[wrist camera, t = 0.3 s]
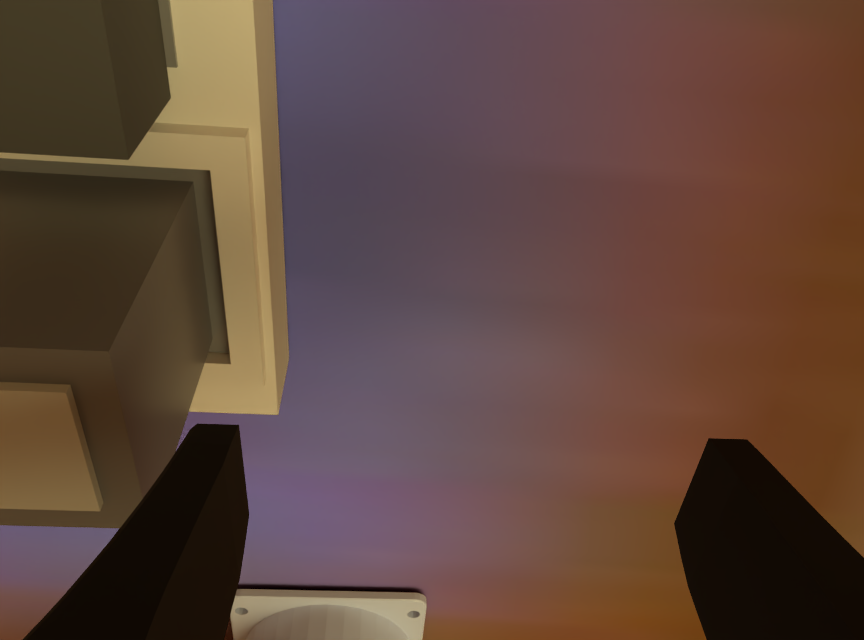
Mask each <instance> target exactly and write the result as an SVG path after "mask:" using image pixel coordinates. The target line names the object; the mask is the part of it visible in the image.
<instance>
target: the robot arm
mask: <svg viewBox="0 0 864 640" xmlns="http://www.w3.org/2000/svg"><path fill="white" fill-rule="evenodd" d="M248 519H249V509H248V500H247V492H246V483H245V474H244V466H243V457H242V448H241V440H240V431H239V425H223V424H197V425H195V426H194V427H193V428H191V429H190V431H189V432H188V434H187V436H186V437H185V439H184V440H183V442H182V443H181V445H180V446H179V448H178V449H177V451H176V452H175V454H174V455H173V457H172V458H171V460H170V461H169V463H168V464H167V466H166V467H165V468H164V470H163V471H162V473H161V474H160V476H159V477H158V478H157V480H156V481H155V483H154V484H153V485H152V487H151V488H150V489H149V491H148V492H147V494H146V495H145V496H144V498H143V499H142V500H141V502H140V503H139V504H138V506H137V507H136V508H135V509H134V511H133V512H132V513H131V515H130V516H129V517H128V519H127V520H126V521H125V522H124V524H123V525H122V526H121V528H120V529H119V530H118V531H117V533H116V534H115V535H114V537H113V538H112V539H111V540H110V542H109V543H108V544H107V545H106V547H105V548H104V549H103V550H102V551H101V553H100V554H99V555H98V556H97V557H96V558H95V560H94V561H93V562H92V563H91V564H90V565H89V567H88V568H87V569H86V570H85V571H84V572H83V574H82V575H81V576H80V577H79V578H78V579H77V581H76V582H75V583H74V584H73V585H72V586H71V588H70V589H69V590H68V591H67V592H66V594H65V595H64V596H63V597H62V598H61V599H60V600H59V601H58V602H57V604H56V605H55V606H54V607H53V608H52V609H51V610H50V611H49V612H48V613H47V614H46V616H45V617H44V618H43V619H42V620H41V621H40V622H39V623H38V624H37V625H36V626H35V627H34V628H33V629H32V630H31V631H30V633H29V634H28V635H27V636H26V637H25V638H24V639H23V640H224V637H225V633H226V629H227V625H228V622H229V618H230V619H231V626H232V633H233V640H422V638H423V630H424V622H425V615H426V607H427V605H426V597H425V596H424V595H423V594H420V593H415V592H370V591H322V590H274V589H237V587H238V583H239V579H240V573H241V566H242V560H243V554H244V547H245V540H246V533H247V526H248ZM674 525H675V530H676V534H677V539H678V544H679V549H680V554H681V559H682V563H683V567H684V571H685V575H686V580H687V584H688V587H689V590H690V593H691V596H692V599H693V602H694V605H695V608H696V611H697V613H698V616H699V619H700V622H701V625H702V627H703V630H704V633H705V636H706V639H707V640H864V558H863V557H862V556H861V555H860V554H859V553H858V552H857V551H856V550H855V549H854V548H853V547H852V546H851V545H850V544H849V543H848V542H847V541H846V540H845V539H844V538H843V537H842V536H841V535H840V534H839V533H838V532H837V531H836V530H835V529H834V528H833V527H832V526H831V525H830V524H829V523H828V522H827V521H826V520H825V519H824V518H823V517H822V516H821V515H820V514H819V513H818V512H817V511H816V510H815V509H814V508H813V507H812V506H811V505H810V504H809V503H808V502H807V500H806V499H805V498H804V497H803V496H802V495H801V494H800V493H799V492H798V491H797V490H796V489H795V488H794V487H793V486H792V485H791V484H790V483H789V482H788V481H787V480H786V479H785V478H784V477H783V476H782V475H781V474H780V473H779V471H778V470H777V469H776V468H775V467H774V466H773V465H772V464H771V463H770V462H769V461H768V460H767V459H766V458H765V457H764V456H763V455H762V454H761V453H760V452H759V451H758V450H757V449H756V448H755V447H754V446H753V445H752V444H751V443H750V442H749V441H748V440H744V439H710V438H709V439H708V441H707V444H706V446H705V449H704V451H703V454H702V456H701V459H700V461H699V464H698V466H697V469H696V471H695V474H694V476H693V478H692V481H691V483H690V486H689V488H688V491H687V493H686V496H685V498H684V501H683V503H682V506H681V508H680V511H679V513H678V516H677V518H676V520H675V523H674Z"/></svg>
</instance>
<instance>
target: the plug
mask: <svg viewBox="0 0 864 640" xmlns="http://www.w3.org/2000/svg"><path fill="white" fill-rule="evenodd" d="M170 99H171V95H170V87H169V80H168V72H167V65H166V57H165V49H164V42H163V34H162V27H161V19H160V12H159V4H158V0H0V152H2V153H18V154H35V155H52V156H69V157H86V158H103V159H120V160H129V159H130V157H131V156H132V154H133V153H134V151H135V150H136V148H137V147H138V145H139V144H140V143H141V141H142V140H143V138H144V137H145V135H146V134H147V132H148V131H149V129H150V128H151V126H152V125H153V124H154V122H155V121H156V119H157V118H158V116H159V115H160V113H161V112H162V110H163V109H164V108H165V106H166V105H167V103H168V102H169V100H170Z"/></svg>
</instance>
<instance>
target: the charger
mask: <svg viewBox="0 0 864 640" xmlns="http://www.w3.org/2000/svg"><path fill="white" fill-rule="evenodd" d="M212 339H213V337H212V329H211V321H210V313H209V305H208V297H207V288H206V280H205V272H204V264H203V256H202V248H201V240H200V232H199V223H198V215H197V207H196V199H195V191H194V183H193V182H191V181H174V180H157V179H139V178H122V177H105V176H87V175H70V174H53V173H35V172H18V171H1V170H0V525H17V526H56V527H94V528H121V526H122V525H123V524H124V522H125V521H126V520H127V519H128V517H129V516H130V515H131V513H132V512H133V511H134V509H135V508H136V507H137V506H138V504H139V503H140V502H141V500H142V499H143V498H144V496H145V495H146V494H147V492H148V491H149V489H150V488H151V487H152V485H153V484H154V483H155V481H156V480H157V478H158V477H159V476H160V474H161V473H162V471H163V470H164V468H165V467H166V466H167V464H168V463H169V461H170V460H171V458H172V457H173V455H174V454H175V451H176V448H177V445H178V442H179V439H180V436H181V433H182V430H183V427H184V424H185V421H186V418H187V415H188V412H189V409H190V406H191V403H192V400H193V397H194V394H195V391H196V388H197V385H198V382H199V379H200V376H201V373H202V370H203V367H204V364H205V361H206V358H207V355H208V352H209V349H210V345H211V342H212Z"/></svg>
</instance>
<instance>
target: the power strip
mask: <svg viewBox="0 0 864 640" xmlns="http://www.w3.org/2000/svg"><path fill="white" fill-rule="evenodd" d="M158 4H159V12H160V19H161V27H162V34H163V42H164V49H165V57H166V65H167V72H168V80H169V87H170V95H171V99H170V100H169V102H168V103H167V105H166V106H165V108H164V109H163V110H162V112H161V113H160V115H159V116H158V118H157V119H156V121H155V122H154V124H153V125H152V126H151V128H150V129H149V131H148V132H147V134H146V135H145V137H144V138H143V140H142V141H141V143H140V144H139V145H138V147H137V148H136V150H135V151H134V153H133V154H132V156H131V157H130V159H129V160H120V159H103V158H86V157H69V156H52V155H35V154H18V153H2V152H0V170H1V171H18V172H35V173H53V174H70V175H87V176H105V177H122V178H139V179H157V180H174V181H191V182H193V183H194V191H195V199H196V207H197V215H198V223H199V232H200V240H201V248H202V256H203V264H204V272H205V280H206V288H207V297H208V305H209V313H210V321H211V329H212V337H213V339H212V342H211V345H210V349H209V352H208V355H207V358H206V361H205V364H204V367H203V370H202V373H201V376H200V379H199V382H198V385H197V388H196V391H195V394H194V397H193V400H192V403H191V406H190V409H189V412H215V413H243V414H270V415H278V413H279V408H280V403H281V398H282V392H283V387H284V382H285V377H286V372H287V367H288V361H289V345H288V324H287V302H286V280H285V259H284V237H283V216H282V194H281V172H280V151H279V129H278V107H277V86H276V64H275V42H274V21H273V0H158Z"/></svg>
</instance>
